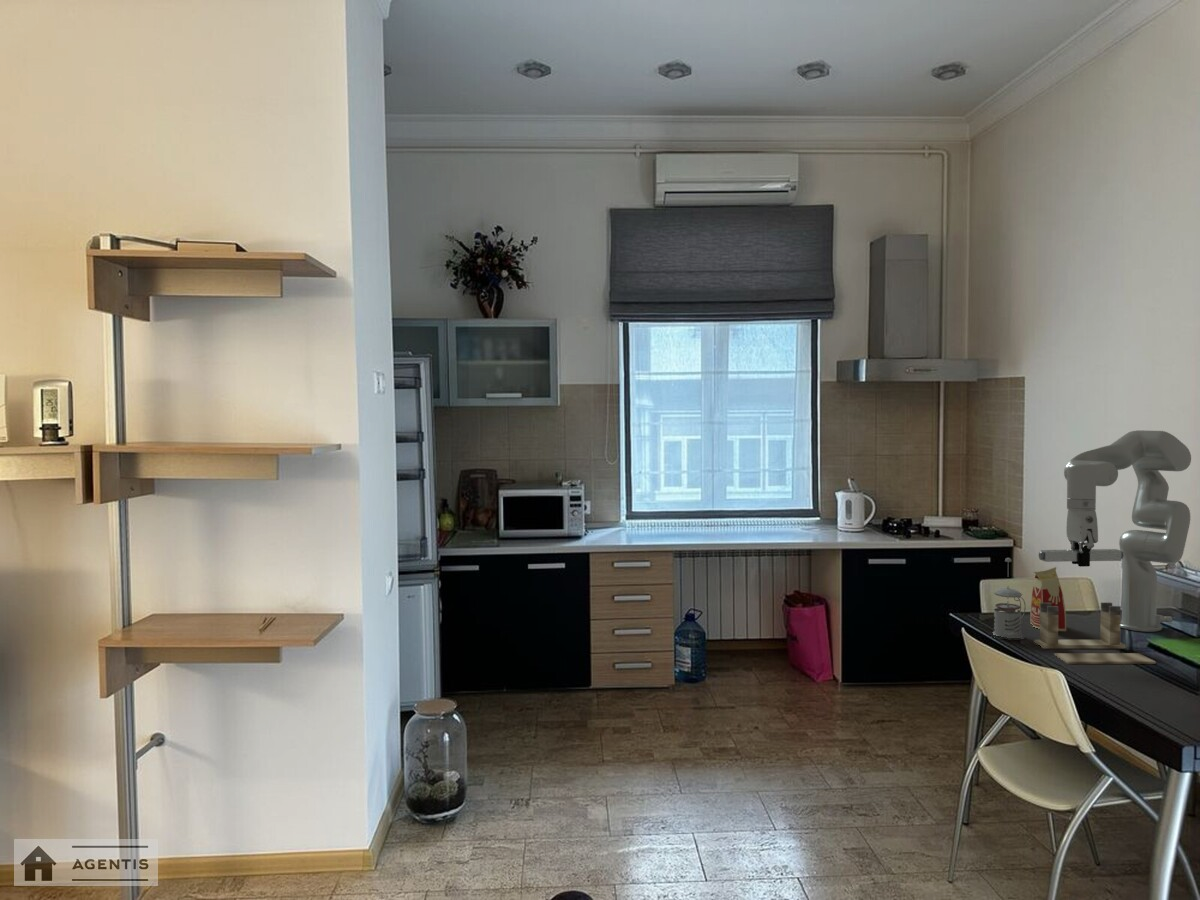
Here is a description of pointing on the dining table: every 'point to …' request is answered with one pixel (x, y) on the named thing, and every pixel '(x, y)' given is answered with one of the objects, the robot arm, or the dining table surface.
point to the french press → (1008, 613)
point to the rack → (1107, 640)
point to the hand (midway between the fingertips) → (1080, 564)
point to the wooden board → (1104, 658)
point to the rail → (1073, 554)
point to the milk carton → (1047, 597)
